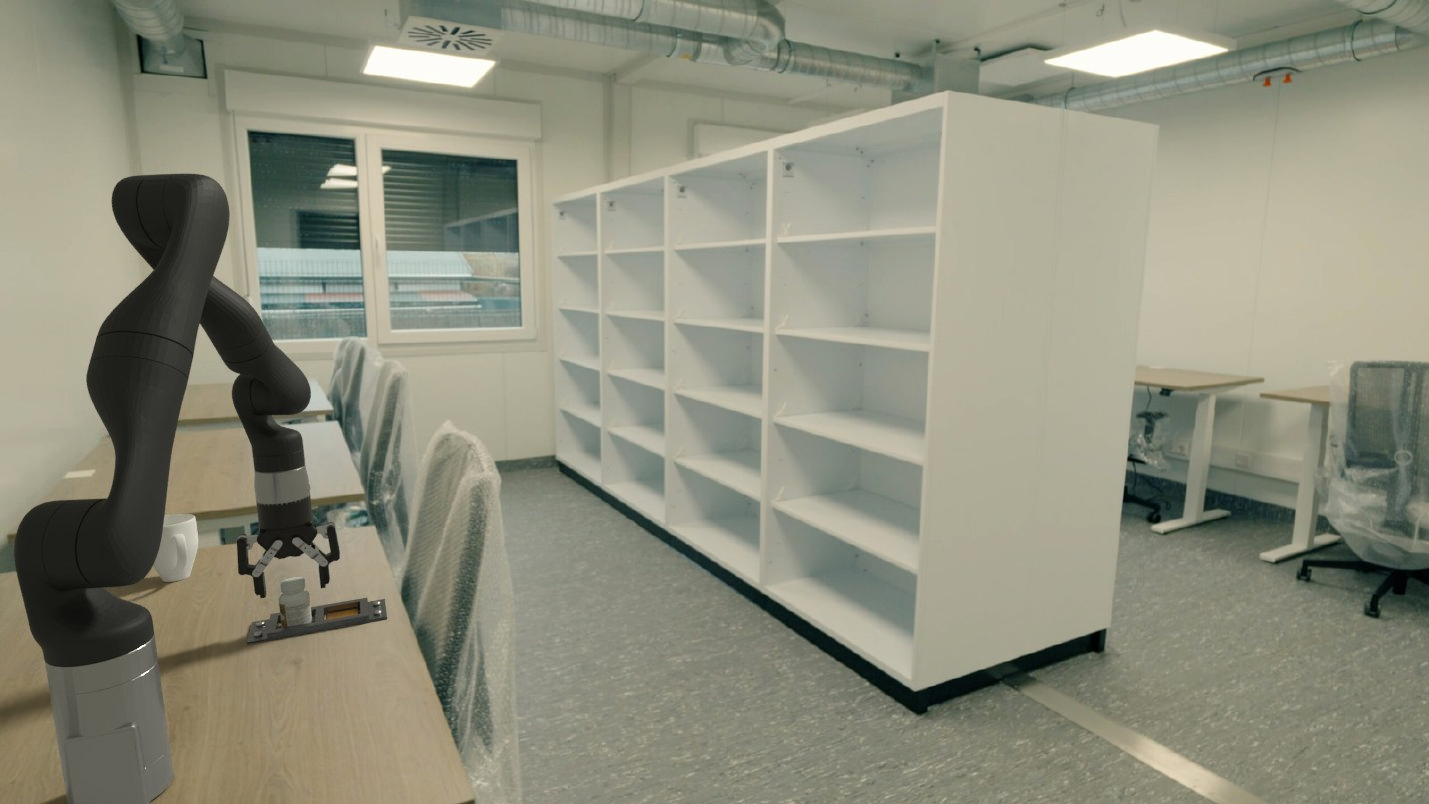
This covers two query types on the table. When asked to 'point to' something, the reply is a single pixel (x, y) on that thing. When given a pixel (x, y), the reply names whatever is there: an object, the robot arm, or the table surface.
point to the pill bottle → (294, 603)
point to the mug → (177, 547)
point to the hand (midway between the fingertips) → (294, 591)
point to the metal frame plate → (320, 620)
